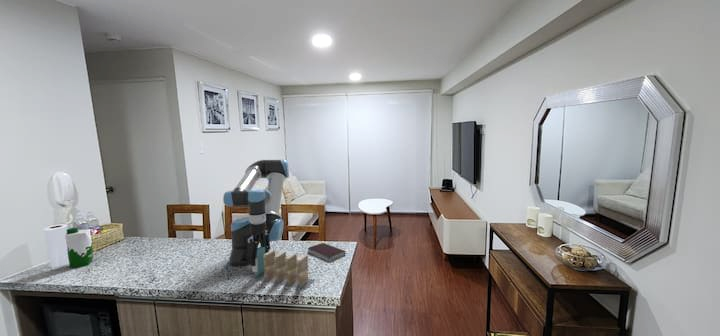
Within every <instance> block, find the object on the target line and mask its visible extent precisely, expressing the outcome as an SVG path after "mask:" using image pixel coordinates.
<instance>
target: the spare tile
mask: <svg viewBox="0 0 720 336" xmlns="http://www.w3.org/2000/svg"><path fill="white" fill-rule="evenodd" d="M264 254H265V247H263V246H261V245H260V246H258V249H257V255H256V258H257V260H258V272H253V273H254V274H253V275H259V274H261V273H262V272H264ZM253 257H254V256H253Z"/></svg>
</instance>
